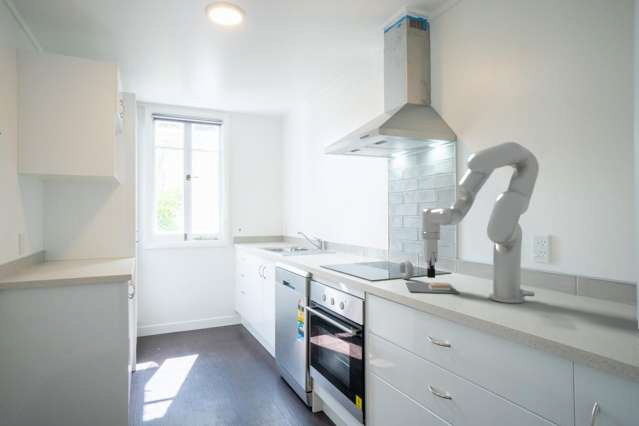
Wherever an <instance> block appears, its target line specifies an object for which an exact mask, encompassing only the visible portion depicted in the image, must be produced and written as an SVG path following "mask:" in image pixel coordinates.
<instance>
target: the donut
mask: <svg viewBox="0 0 639 426" xmlns="http://www.w3.org/2000/svg"><path fill="white" fill-rule="evenodd" d="M414 268H415V267H414V266H413V263H412V262H411V261H410V260H408V259H402V260H401V261H400V262H399V264H398V267H397V269H398V273H399V275H400V277H401V278H402V279H404V280H410V279H412V278H413V276H414V270H415V269H414Z"/></svg>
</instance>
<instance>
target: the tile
mask: <svg viewBox="0 0 639 426" xmlns="http://www.w3.org/2000/svg"><path fill="white" fill-rule="evenodd" d="M428 283H429V288H430V289H431V290H451V286H452V285H451V284H450V283H448V282H437V281H436V282H435V281H434V282H433V281H432V282H431V281H429V282H428ZM449 284H450V285H451V286H450V285H449Z"/></svg>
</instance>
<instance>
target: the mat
mask: <svg viewBox="0 0 639 426" xmlns="http://www.w3.org/2000/svg"><path fill="white" fill-rule="evenodd" d="M448 284H449V285H450V286H451V290H431V289H430V288H429V282H411V281H409V282H406V281H405V285H406V287H407V290H408V291H409V293H412V294H414V293H415V294H437V295H438V294H439V295H440V294H443V295H448V294H449V295H460V292H459V291H458V290H457V289H456V288H455V287H454V286H453V285H451V283H448Z"/></svg>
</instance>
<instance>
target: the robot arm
mask: <svg viewBox="0 0 639 426" xmlns="http://www.w3.org/2000/svg"><path fill="white" fill-rule="evenodd" d="M466 165H467V168H468V169H467V170H466V171H465V173H464V175H463V176H462V178H461V179H460V181H459V182H458V185H457V190H458V194H457V196H456V199H455V200H454V202H453V203H452V205H451V207H443V208H441V207H440V208H424V209H423V210H422V225H421V226H422V227H421V228H422V229H421V230H422V238H421V239H422V240H423V241H424V242H423V261H424V262H426V264H427V265H426V275H427V276H426V277H427V278H428V279H435V278H436V263H437V262H438V258H439V255H438V253H439V251H438V248H439V247H438V246H439V245H438V243H439V242H438V241H440V240H441V226H455V225H458V224H459V223H461V222H462V221H463V220H464V218H465V217H466V215H467V214H468V213H469V211H470V209H471V208H472V206H473V205H474V202H475V200H476V197H477V195H478V194H479V192H480V191H481V189H482V188H483V187H484V185H485V183H487V181H488V180H489V179H490V177H491V175H492V174H493V172H494V171H495V169H500V168H502V167H511V168H512V169H513V173H512V175H511V178H510V179H509V184H508V187H507V188H506V189H507V190H506V191H503V192H501V193H500V194H499V195H498V196H497V197H496V199H495V202H494V203H493V207H492V210H491V214H490V217H489V219H488V224H487V227H486V233H487V234H486V235H487V237H488V238H489V240H490V241H491V242H492V243H493V251H492V252H493V253H492V254H493V259H492V271H493V272H492V293H490V294H488V298H489V299H490V300H492V301H495V302H501V303H505V304H522V303H525V302H526V297H535V292H534V291H533V290H531V291H530V290H524V289H522V288H521V260H522V259H521V258H522V257H521V254H522V253H521V252H522V241H523V229H522V226H521V224H520V223H519V220H520V219H521V218H520V217H521V216H522V215H524V214H525V213H526V212H527V211H528V209H529V206H530V202H531V199H532V196H533V193H534V189H535V185H536V182H537V179H538V176H539V171H540V166H539V161H538V158H537V157H536V155H535V154H534V153H533V152H532V151H530V150H529V149H527V148H526V147H524V146H523V145H521V144H519V143H518V142H515V141H510V142H509V141H508V142H503V143H500V144H497V145H493V146H491V147H488V148H485V149H484V148H483V149H481V150H478V151H475V152H474V153H472V154H471V155H470V156H469V157H468V159H467V164H466Z"/></svg>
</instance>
